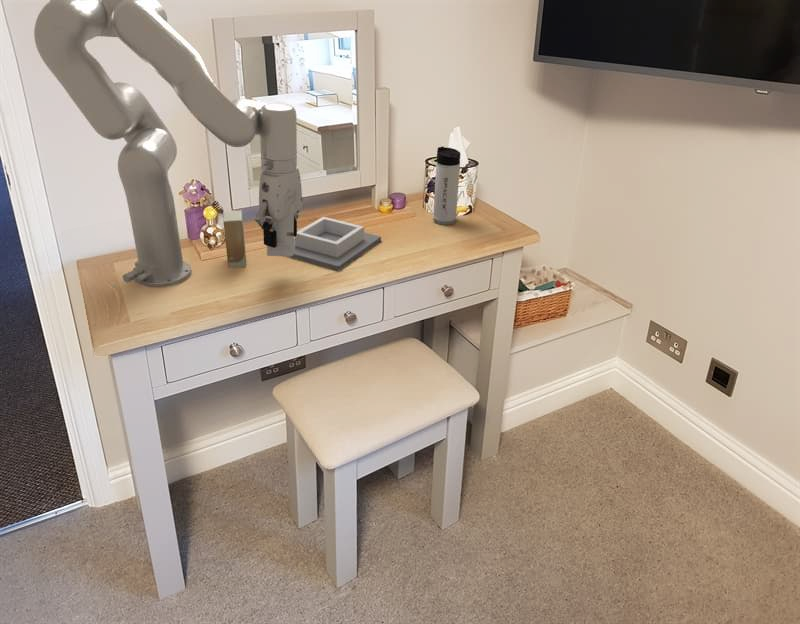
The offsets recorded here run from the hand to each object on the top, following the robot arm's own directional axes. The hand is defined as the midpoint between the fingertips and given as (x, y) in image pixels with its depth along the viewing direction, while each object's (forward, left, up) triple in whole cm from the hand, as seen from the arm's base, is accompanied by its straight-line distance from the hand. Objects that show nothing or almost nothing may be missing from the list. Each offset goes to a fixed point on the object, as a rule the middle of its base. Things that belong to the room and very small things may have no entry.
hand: (280, 239), depth 156 cm
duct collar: (+19, -1, -9) cm, 21 cm away
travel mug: (+50, -18, -9) cm, 53 cm away
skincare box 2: (0, 0, -3) cm, 3 cm away
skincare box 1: (0, +13, -9) cm, 16 cm away
